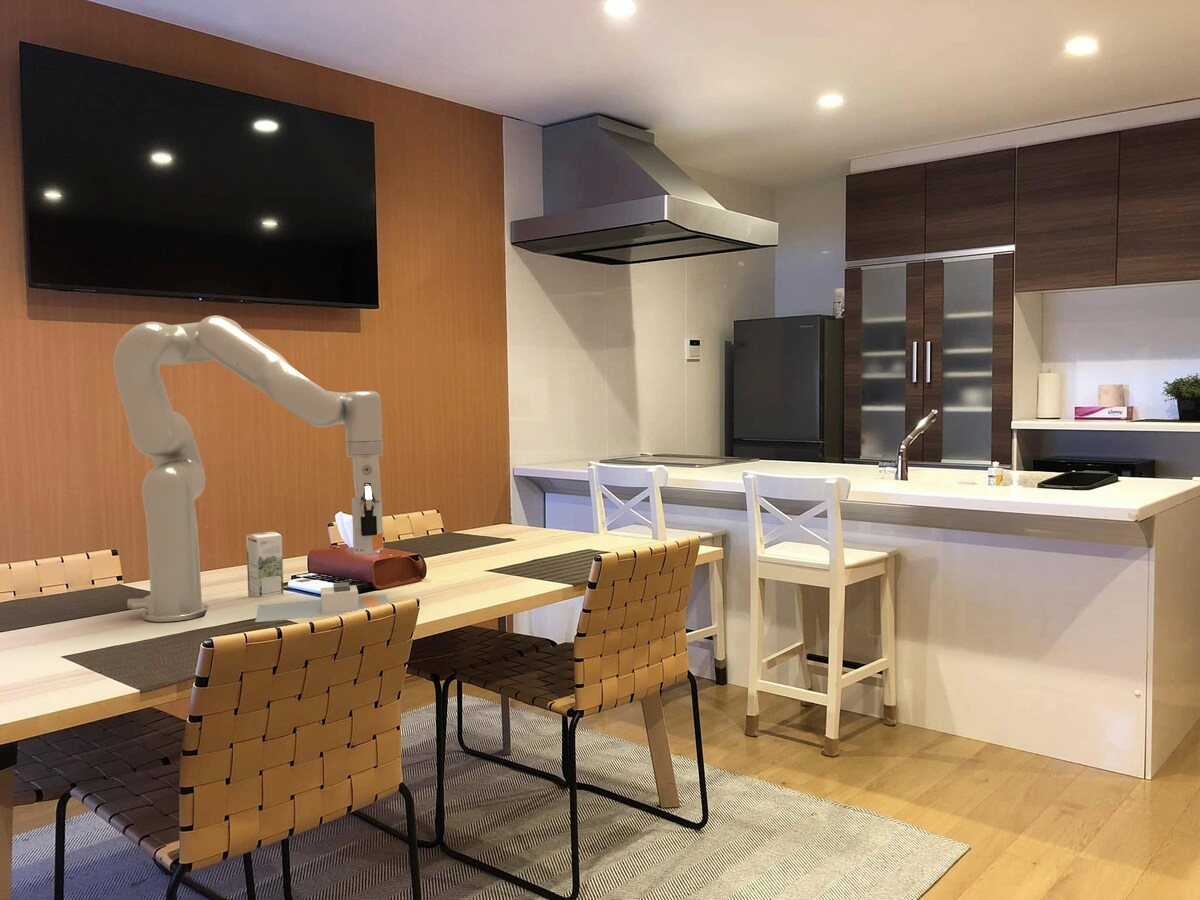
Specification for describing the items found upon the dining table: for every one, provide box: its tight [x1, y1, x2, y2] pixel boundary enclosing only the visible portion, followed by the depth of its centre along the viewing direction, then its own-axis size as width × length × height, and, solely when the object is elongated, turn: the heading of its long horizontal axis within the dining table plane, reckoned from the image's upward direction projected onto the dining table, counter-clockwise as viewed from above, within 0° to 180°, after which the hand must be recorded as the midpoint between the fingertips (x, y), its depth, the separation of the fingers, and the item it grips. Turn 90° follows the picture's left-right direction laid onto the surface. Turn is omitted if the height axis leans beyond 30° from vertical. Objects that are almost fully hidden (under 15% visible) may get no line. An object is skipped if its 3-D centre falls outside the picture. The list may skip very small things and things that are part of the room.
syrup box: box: [245, 531, 285, 598], centre depth 204 cm, size 6×6×14 cm
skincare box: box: [351, 495, 384, 555], centre depth 196 cm, size 6×4×12 cm
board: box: [254, 593, 390, 623], centre depth 190 cm, size 26×15×1 cm, turn 108°
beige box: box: [320, 581, 359, 614], centre depth 188 cm, size 7×6×5 cm
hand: (368, 532), depth 197 cm, fingers closed on skincare box, 7 cm apart
